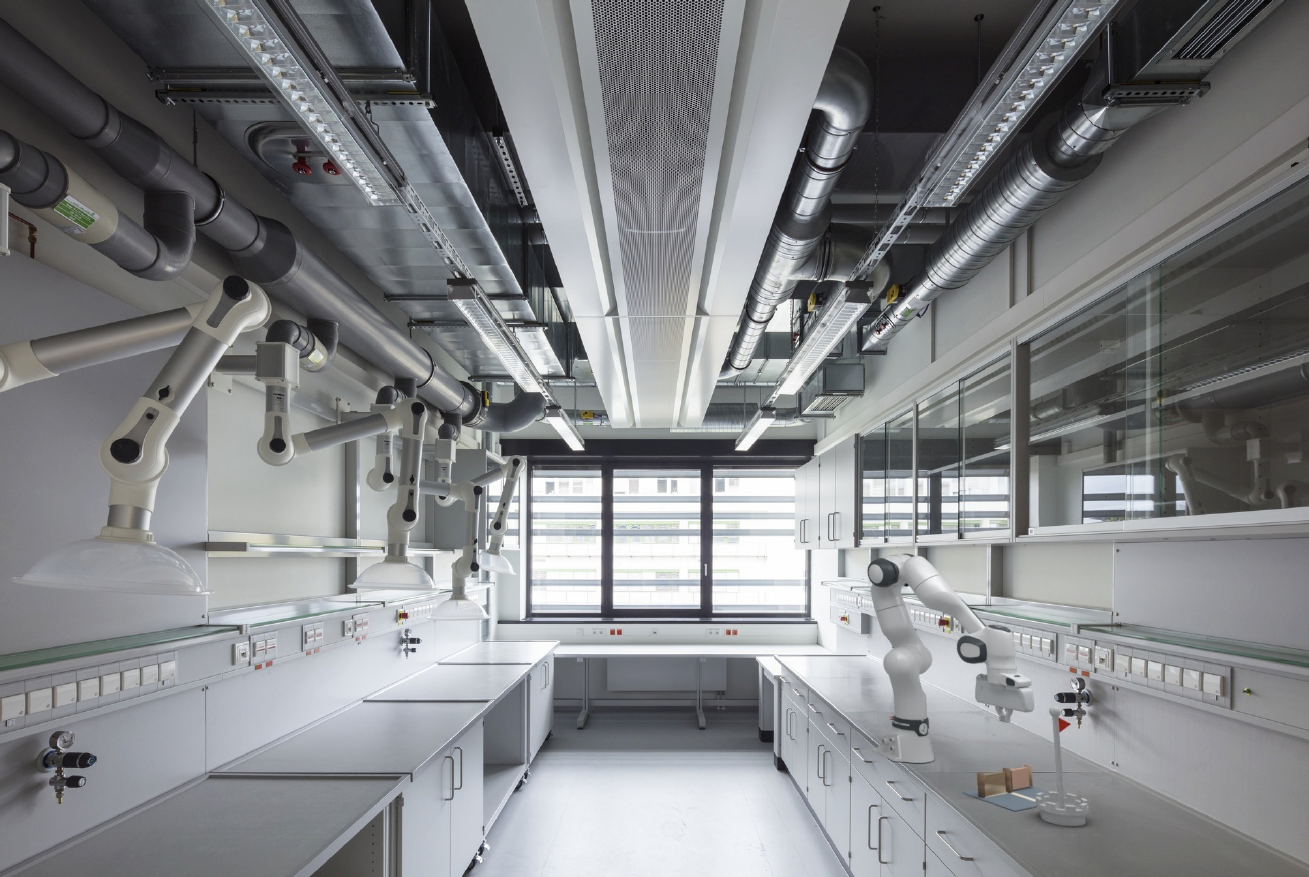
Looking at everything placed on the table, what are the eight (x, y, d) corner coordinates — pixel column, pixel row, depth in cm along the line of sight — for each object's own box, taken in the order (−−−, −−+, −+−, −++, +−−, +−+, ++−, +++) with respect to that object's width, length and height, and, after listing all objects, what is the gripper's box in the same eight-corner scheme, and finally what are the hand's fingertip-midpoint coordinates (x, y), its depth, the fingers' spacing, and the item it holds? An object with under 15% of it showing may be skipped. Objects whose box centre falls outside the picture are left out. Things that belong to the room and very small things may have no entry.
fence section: (1008, 788, 241) (1007, 767, 241) (1028, 784, 244) (1027, 764, 245) (1013, 789, 239) (1012, 769, 240) (1033, 785, 243) (1032, 765, 244)
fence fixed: (976, 795, 235) (975, 772, 236) (1007, 789, 241) (1005, 767, 242) (982, 797, 233) (981, 774, 234) (1013, 791, 239) (1011, 769, 240)
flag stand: (1061, 829, 208) (1052, 712, 212) (1026, 813, 221) (1018, 703, 225) (1101, 824, 212) (1092, 709, 216) (1064, 809, 224) (1056, 700, 228)
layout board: (962, 792, 239) (962, 791, 239) (1016, 782, 249) (1016, 781, 249) (1015, 811, 222) (1015, 810, 222) (1070, 799, 232) (1070, 798, 232)
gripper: (969, 673, 259) (971, 716, 258) (1021, 682, 241) (1024, 729, 239) (983, 671, 262) (985, 714, 260) (1036, 680, 244) (1039, 727, 242)
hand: (1004, 721), depth 250 cm, fingers closed
